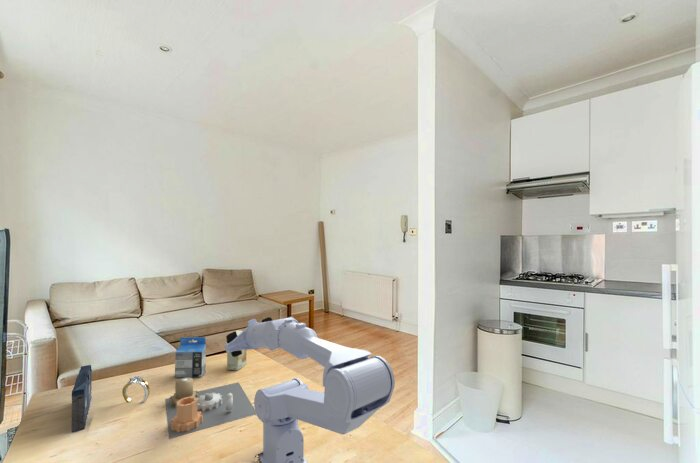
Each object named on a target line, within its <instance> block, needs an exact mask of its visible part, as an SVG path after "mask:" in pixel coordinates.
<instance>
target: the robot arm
mask: <svg viewBox="0 0 700 463" xmlns="http://www.w3.org/2000/svg"><path fill="white" fill-rule="evenodd" d="M236 331H237V330H235V331H232V332H230V333H228V334H227V335H226V336H225V337H226V343H225V344H223V346H224V348H225V352H226V353H230V352H231V354H232V356H233V357H237V356H239V355H241V354H242V351H241V350H246V351H247V350H248V351H249V350H250V351H251V350H258V349H264V348H267V349H268V350H269V351H270V352H271V351H272V352H273V351H275V350H278V349H281V350H283V351H284V352H286V353H288V354H289V355H290V354H291V355H292V356H294V357H295V358H297V359H300V360H304V359H308V358H310V359H312V360H313V361H314V362H316V363H318V364H319V365H320V366H322V367H323V368H324V369H323V373H322V385H323V386H322V387H324V391H317V390H312V389H309V386H308V384H307V383H304V382H303V381H302V380H301V379H300V378H298V377H294V378H292V379H290V380H287V381H284V382H280V383H277V384H275V385H272V386H269V387H266V388H260V389H257V391H256V392H255V395H254V397H253V400H254V401H253V407H254V409H255V411H256V414H255V415H256V417H257V418H258V420H260V421H261V422H262V423H263V424H262V427H263V428H262V432H263V434H262V436H263V437H262V442H263V443H262V452H260V453H257V457H258V459H259V460H260V462H261V463H308V461H307V460H306V458H305V457H304V444H305V442H304V435H303V433H302V430H301V429H300V427H299V423H298V422H299V421H301V422H303V423H306V424H310V425H313V426H316V427H319V428H322V429H325V430H328V431H330V432H334V433H336V434H340V435H346V434H348V433H350V432H352V431H355V430H356V429H359V428H360V427H361V426H362V425H363V424H364V423H365V422H366V421H368V420H369V418H371V417H372V416H374V414H376V412H377V411H378V410H380V409H382V408H383V407H384V406H386V405H387V404H388V403H390V401H391V399H392V396H393V392H394V389H395V385H396V384H395V381H396V380H395V374H394V371H393V369H392V367H391V365H390V364H389V362H388V361H387V359H385V358H384V357H383V356H380V355H373V353H371V351H368V350H366V349H359V348H355V347H354V348H353V347H349V346H348V347H347V346H344V345H341V344H338V343H334V342H332V341H328V340H325V339H322V338H319V337H318V334H317V333H316V331H315V330H314V329H312V328H310V327H307V323H305V322H298V320H297V319H295V317H294V316H288V317H285V318H280V319H279V318H278V319H273V318H272V317H270V316H269V317H265V318H263V319H262V320H261V322H258V321H257V319H256V318H252V319H250V320H248V321H247V327H246V328H244V330H241V331H242V332H241V333H240V334H239V335H238V336H237V333H236ZM371 355H373V356H371ZM369 356H371V357H369Z"/></svg>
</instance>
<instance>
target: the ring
mask: <svg viewBox="0 0 700 463" xmlns="http://www.w3.org/2000/svg"><path fill="white" fill-rule="evenodd" d="M133 384H137V385H140V386H142V387H143V388H142V389H143V390H144V396H143V397H144V398H143V399H142V400H141V401H140V404H143V403H145V402H146V401H148V398H149V396H150V390H151V389H150V385H149V383H148V382H147V381H146V380H145V379H144V378H143V377H142V376H139V375H135V376H134V377H129V381H128V382H126V384H124V385H123V387H122V390H121V391H122V392H121V393H122V397H123V398H124V401H125V402H126V403H131V402H133V400H132V399H131V398H130V397H129V394H128V390H129V386H132V385H133Z"/></svg>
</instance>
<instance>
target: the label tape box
mask: <svg viewBox="0 0 700 463" xmlns="http://www.w3.org/2000/svg"><path fill="white" fill-rule="evenodd" d="M191 341H193V342H191ZM206 342H207V341H206V336H197V337H196V336H194V337H193V336H191V337H190V336H187V337H179V343H180V344H179V345H178V347H177V350H175V355H174V356H175V357H174V358H175V359H174V360H175V361H174V379H177V378H201V377H203V376H204V375H205V374H206V365H207V364H206V363H207V362H206V359H207V358H206V357H207V356H206V355H207V353H206V350H207V344H206Z"/></svg>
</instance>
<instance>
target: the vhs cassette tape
mask: <svg viewBox="0 0 700 463" xmlns="http://www.w3.org/2000/svg"><path fill="white" fill-rule="evenodd" d="M92 371H93V370H92V365H91V364H88V365H82V366H80V369H79V371H78V375H77V377H76V379H75V383H74V386H73V389H72V390H71V433H76V432H79V431H82V430H85V429H86V424H87V421H86V420H88V416H87V415H89V412H88V411H90V407H91V403H90V402H92Z"/></svg>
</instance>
